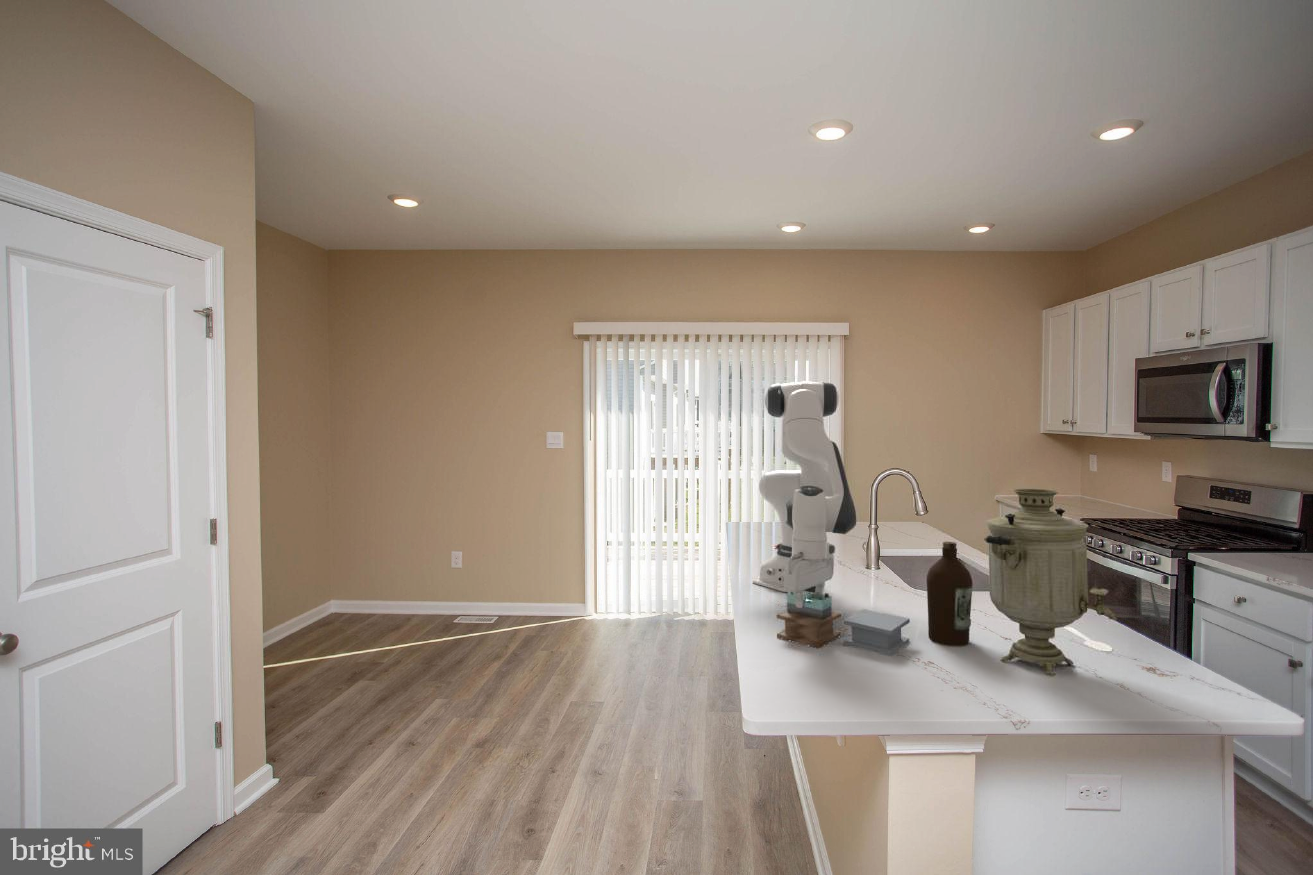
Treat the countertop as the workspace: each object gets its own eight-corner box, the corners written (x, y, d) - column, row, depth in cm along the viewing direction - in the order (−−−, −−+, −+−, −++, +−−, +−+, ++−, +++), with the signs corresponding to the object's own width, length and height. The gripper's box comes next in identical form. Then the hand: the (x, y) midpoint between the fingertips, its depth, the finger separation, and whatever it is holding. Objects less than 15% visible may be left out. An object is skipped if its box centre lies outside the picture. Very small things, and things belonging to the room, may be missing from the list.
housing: (787, 612, 165) (787, 590, 165) (796, 607, 169) (796, 586, 169) (822, 620, 159) (822, 598, 159) (831, 615, 162) (831, 593, 162)
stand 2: (843, 643, 159) (843, 620, 159) (863, 631, 168) (863, 609, 168) (890, 655, 151) (891, 630, 151) (909, 641, 160) (909, 618, 160)
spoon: (1076, 628, 171) (1076, 626, 170) (1119, 653, 153) (1119, 651, 153) (1055, 627, 171) (1055, 625, 171) (1095, 652, 153) (1095, 650, 153)
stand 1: (776, 637, 164) (776, 614, 163) (799, 625, 173) (799, 603, 172) (819, 648, 156) (819, 624, 155) (841, 635, 165) (841, 612, 164)
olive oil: (917, 637, 163) (918, 541, 162) (941, 630, 169) (942, 536, 168) (956, 650, 154) (957, 548, 153) (980, 641, 160) (981, 543, 159)
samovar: (1041, 700, 127) (1045, 502, 125) (948, 653, 152) (950, 488, 151) (1153, 683, 135) (1158, 496, 133) (1047, 640, 160) (1050, 483, 159)
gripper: (800, 558, 153) (800, 614, 154) (838, 545, 169) (838, 596, 169) (777, 554, 158) (777, 609, 158) (816, 542, 173) (816, 592, 173)
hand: (809, 602), depth 164 cm, fingers open, 8 cm apart
